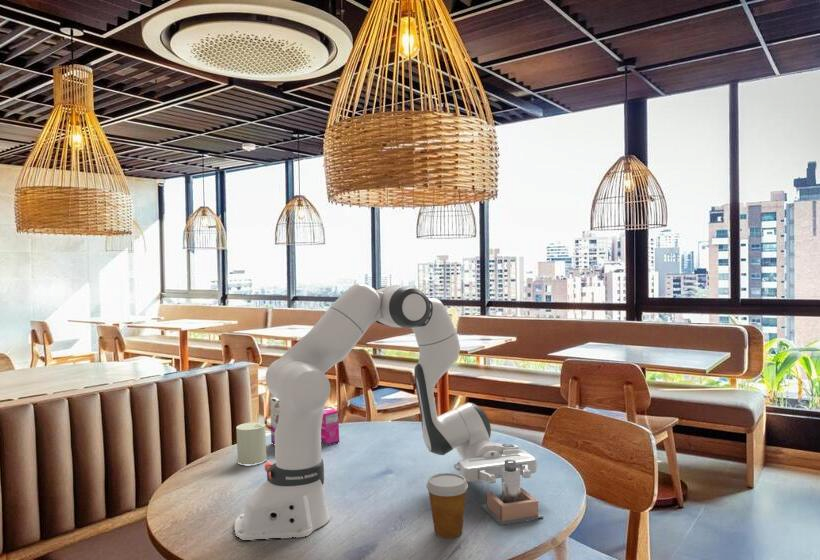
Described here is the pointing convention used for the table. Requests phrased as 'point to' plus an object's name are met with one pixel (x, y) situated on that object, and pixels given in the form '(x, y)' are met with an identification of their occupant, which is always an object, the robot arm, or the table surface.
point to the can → (251, 442)
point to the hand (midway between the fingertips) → (510, 477)
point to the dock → (512, 509)
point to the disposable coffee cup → (447, 503)
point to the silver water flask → (510, 482)
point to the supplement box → (330, 427)
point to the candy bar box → (274, 416)
